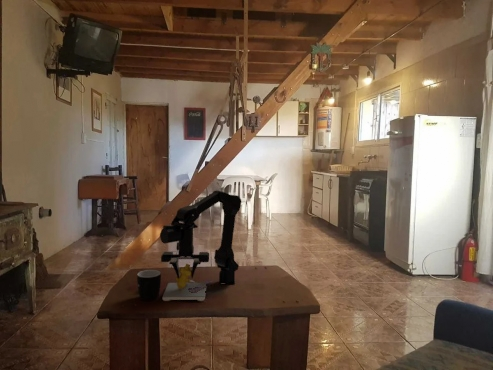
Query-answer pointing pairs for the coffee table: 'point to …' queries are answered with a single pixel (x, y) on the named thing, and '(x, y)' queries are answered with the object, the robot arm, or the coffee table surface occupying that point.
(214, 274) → the coffee table surface
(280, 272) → the coffee table surface
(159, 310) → the coffee table surface
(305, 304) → the coffee table surface
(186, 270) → the pressure relief valve
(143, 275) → the mug
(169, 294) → the stand
